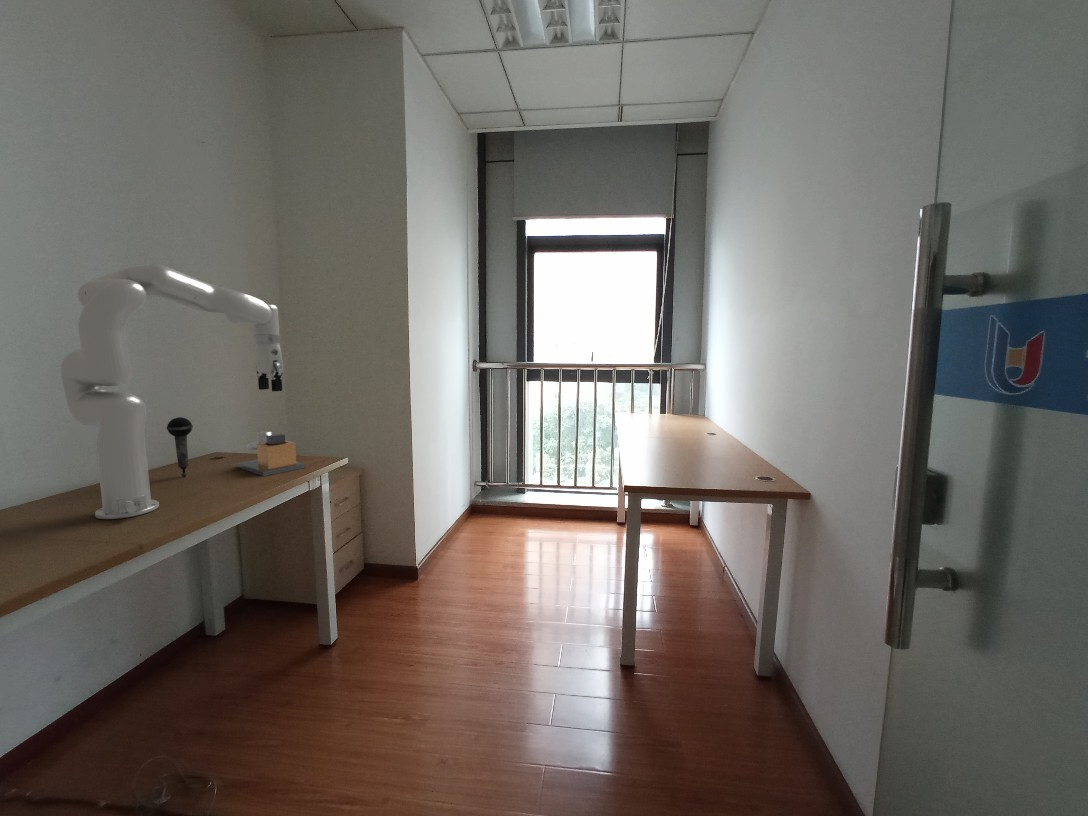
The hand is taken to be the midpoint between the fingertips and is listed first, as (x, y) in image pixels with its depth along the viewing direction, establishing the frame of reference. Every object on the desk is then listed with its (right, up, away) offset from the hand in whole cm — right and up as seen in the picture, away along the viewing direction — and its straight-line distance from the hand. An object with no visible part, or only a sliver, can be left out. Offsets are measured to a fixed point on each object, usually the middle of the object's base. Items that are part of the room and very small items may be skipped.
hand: (270, 390), depth 163 cm
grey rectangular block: (+1, -27, +3) cm, 27 cm away
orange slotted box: (-3, -28, +6) cm, 29 cm away
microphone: (-25, -29, -7) cm, 39 cm away
